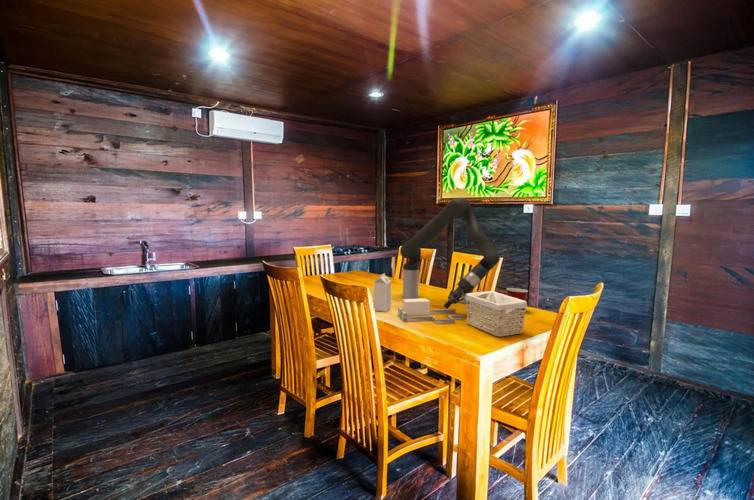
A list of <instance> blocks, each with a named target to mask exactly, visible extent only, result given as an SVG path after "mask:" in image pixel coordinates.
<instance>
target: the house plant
mask: <svg viewBox="0 0 754 500" xmlns="http://www.w3.org/2000/svg"><path fill="white" fill-rule="evenodd" d="M464 276H465V275H462V278H463V277H464ZM457 277H458V280H459V281H460V280H461V279H462V278H461V277H460V276H457ZM457 284H458V283H456V284H455V285H456V288H458V285H457ZM470 293H472V291H471V292H470ZM463 298H464V299H463V300H462V301H460V302H459V303H460V304H467V302H466V299H465V298H466V293H465V295H464V296H463Z"/></svg>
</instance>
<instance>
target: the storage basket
mask: <svg viewBox="0 0 754 500" xmlns="http://www.w3.org/2000/svg"><path fill="white" fill-rule="evenodd" d="M465 299H466V302H467V303H466V309H465V310H466V321H467V322H466V323H467V325H470V326H471V327H475V328H476V329H478V330H481V331H483V332H485V333H488V334H491V335H492V336H496V337H505V336H506V337H508V336H514V335H518V334H522V333H523V330H524V324H525V317H526V315H525V314H526V311H527V308H528V302H527V301H526V300H525V301H523V300H521V299H517V298H514V297H510V296H508V294H504V293H500V292H498V291H494V290H487V291H477V292H471V293H467V294H466V298H465Z"/></svg>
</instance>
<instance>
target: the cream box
mask: <svg viewBox="0 0 754 500" xmlns="http://www.w3.org/2000/svg"><path fill="white" fill-rule="evenodd" d="M430 305H431V301H430V300H429V299H428V298H424V297H423V298H417V299H405V298H402V309H403V310H404V311H405V312H406V313H407V317H416V316H431V314H430V310H431V309H430V308H431V307H430Z"/></svg>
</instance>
